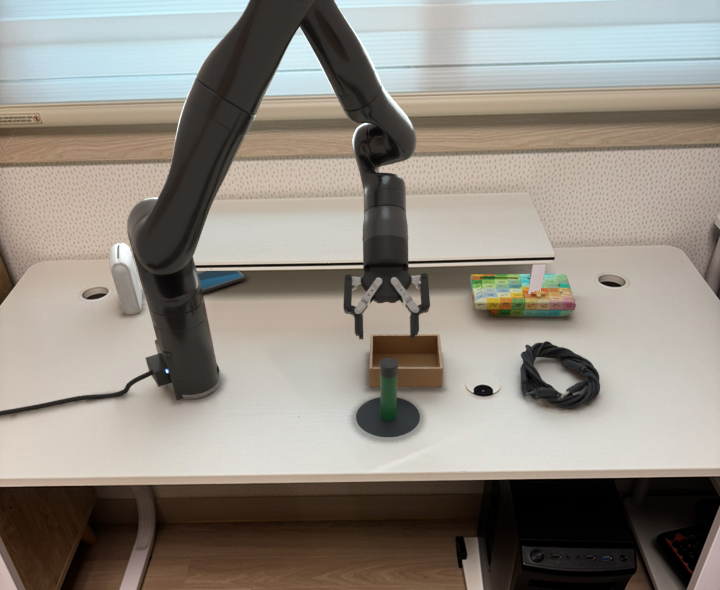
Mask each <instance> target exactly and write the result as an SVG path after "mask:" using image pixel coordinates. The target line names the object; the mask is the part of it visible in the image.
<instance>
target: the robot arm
mask: <svg viewBox="0 0 720 590" xmlns="http://www.w3.org/2000/svg"><path fill="white" fill-rule="evenodd" d="M299 29H300V30H301V33H302V34H303V36H304V37H305V40H306V41H307V43H308V45H309V46H310V48H311V51H312V52H313V54H314V56H315V58H316V60H317V62H318V64H319V65H320V68H321V70H322V72H323V73H324V75H325V77H326V80H327V81H328V83H329V85H330V87H331V89H332V91H333V93H334V95H335V98H336V99H337V101H338V103H339V105H340V107H341V108H342V111H343V112H344V115H345V116H346V118H347V119H348V120H350V121H351V122H352V123H356V124H360V125H359V126H357V127H356V129H355V131H354V133H353V135H352V140H351V147H352V152H353V155H354V159H355V162H356V166H357V169H358V173H359V176H360V181H361V185H362V190H363V223H362V238H361V239H362V267H363V268H362V269H363V270H362V271H363V272H362V274H361V276H352V274H349V273H347V274H345V276H344V286H343V312H344V314H346V315H350V316H352V317H354V318H353V319H354V334H355V336H356V337H358V339H359V340H364V313H365V312H366V310H367V309H368V308H369V307H370V306H371V304H372V303H373V302H374V303H376V304H384V303H389V304H396V303H397V302H400V303H401V304H402V306H403V307H404V308H405V309H406V310H407V311H408V313H410V315H409V334H410V339H414V338H415V335H418V334H419V332H420V315H423V314H424V313H426V314H427V313H428V312H429V310H430V308H431V299H430V298H431V297H430V286H429V274H427V273H426V272H423V273H421V274H419V275H411V273H410V270H409V269H410V267H409V224H408V219H407V190H406V189H407V188H406V183H405V180H404V178H403V177H402V176H400V175H399V174H396V173H391V172H380V168H381V167H386V166H390V165H394V164H397V163H402V162H405V161H407V160H409V159H411V157H413V155H414V153H415V152H416V148H417V134H416V130H415V127H414V125H413V123H412V121H411V119H410V118H409V116H408V115H407V114H406V113H405V112H404V110H403V109H402V108H401V107H400V106H399V105H398V104H397V102H396V101H395V100H394V99H393V98H392V96H391V95H390V94H389V93H388V92H387V90H386V89H385V88H384V85H383V84H382V81H381V79H380V76H379V75H378V72H377V70H376V67H375V65H374V63H373V61H372V58H371V57H370V55H369V53H368V51H367V49H366V48H365V46H364V45H363V42H362V41H361V39H360V37H359V36H358V35H357V33H356V32H355V30H354V29H353V27H352V26H351V24H350V23H349V21H348V20H347V18H346V17H345V15H344V14H343V13H342V11H341V9H340V7H339V6H338V3H337V2H336V0H248V3H247V5H246V7H245V8H244V10H243V12H242V13H241V15H240V17H239V19H237V21H236V23H235V24H234V25H233V26H232V27H231V28H230V29H229V31H228V32H227V33H226V34H225V35H224V36H223V37H222V38H221V40H220V41H219V42H218V43H217V44H216V45H215V46H214V47H213V49H212V50H211V51H210V52H209V53H208V54H207V56H206V57H205V59H204V60H203V62H202V64H201V65H200V67H199V69H198V71H197V73H196V76H195V78H194V80H193V82H192V84H191V87H190V90H189V91H188V94H187V97H186V98H185V101H184V104H183V107H182V110H181V113H180V117H179V120H178V124H177V129H176V134H175V138H174V139H175V140H174V145H173V151H172V157H171V162H170V168H169V170H168V174H167V176H166V179H165V182H164V185H163V186H162V189H161V191H160V192H159V195H158V197H148V198H145V199H142V200H140V201H138V202H137V203H136V204H135V205H134V206H133V207H132V208H131V210H130V212H129V214H128V217H127V221H126V231H127V237H128V240H129V244H130V249H131V253H132V256H133V260H134V264H135V267H136V271H137V275H138V279H139V282H140V286H141V289H142V292H143V294H144V298H145V301H146V305H147V309H148V312H149V315H150V319H151V323H152V326H153V327H152V328H153V330H154V334H155V337H156V339H155V340H154V344H155V348H156V352H157V353H156V354H152V355H150V356H147V357H145V362H146V365H147V368H148V369H147V370H148V371H147V372H144V373H142V374H140V375H138V376H136V377H134V378H132V379H131V380H130V381H128V382H127V383H126V384H125V386H124V388H123V389H121V390H119V391H116V392H111V393H98V394H83V395H76V396H71V397H66V398H61V399H57V400H51V401H47V402H43V403H42V402H41V403H38V404H32V405H26V406H22V407H16V408H10V409H4V410H0V417H3V416H8V415H9V416H10V415H13V414H20V413H26V412H31V411H36V410H40V409H41V410H42V409H45V408H51V407H55V406H60V405H64V404H69V403H75V402H81V401H88V400H103V399H111V398H119V397H121V396H123V395H126V394H127V393H128V392H129V391H130V389H131V388H132V386H133V385H135V384H137V383H138V382H140V381H142V380H145V379H146V378H149V377H152V379H153V380H154V382H155V383H156V385H157V386H158V388H160V387H163V386H167V387H168V389H169V392H170V393H171V394H172V396H173V397H174V398H175V400H176V401H181V400H198V399H203V398H206V397H208V396H210V395H211V394H213V393H214V392H216V391H217V390H218V389H219V388H220V386H221V384H222V383H221V382H222V379H221V371H220V367H219V365H218V362H217V357H216V353H215V347H214V342H213V337H212V331H211V327H210V323H209V317H208V313H207V307H206V303H205V297H204V293H203V292H202V287H201V283H200V280H199V277H198V274H199V272H198V270H197V267H196V264H195V260H194V255H195V252H196V250H197V247H198V244H199V241H200V238H201V235H202V232H203V229H204V227H205V223H206V222H207V218H208V215H209V212H210V210H211V207H212V205H213V203H214V201H215V198H216V196H217V194H218V192H219V190H220V188H221V187H222V184H223V182H224V180H225V179H226V177H227V175H228V172H229V171H230V168H231V167H232V165H233V163H234V160H235V158H236V156H237V154H238V152H239V150H240V149H241V146H242V144H243V143H244V141H245V139H246V137H247V135H248V133H249V131H250V129H251V127H252V124H253V123H254V121H255V119H256V116H257V114H258V112H259V109H260V108H261V105H262V102H263V100H264V98H265V96H266V95H267V92H268V89H269V87H270V86H271V83H272V82H273V80H274V78H275V76H276V73H277V71H278V69H279V67H280V65H281V64H282V60H283V58H284V56H285V55H286V52H287V50H288V48H289V46H290V44H291V42H292V41H293V39H294V37H295V35H296V34H297V32H298V30H299ZM412 284H414V286H415V288H416V289H417V290H420V291H419V294H420V304H417V303H416V301H414V299H413V298H412V296H411V294H410V293H409V292H408V291H407V290H408V289H409V288H410V286H411V285H412ZM359 285H361V287H362V288H363V290H364V291H365V293H364V294H363V296H362V297H361V300H359V302H358V303H357V305H356V306H355V305H353V304H352V301H353V300H352V297H353V291H354V292H355V291H356V290H357V288H358V286H359Z"/></svg>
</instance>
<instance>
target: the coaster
mask: <svg viewBox="0 0 720 590" xmlns="http://www.w3.org/2000/svg"><path fill="white" fill-rule="evenodd" d="M355 420H356V423H357V425H358V426H359V427H360V428H361V429H362V431H364V432H365V433H367V434H370V435H372V436H374V437H380V438H396V437H401V436H404V435H408V434H409V433H410V432H412V431H414V430H415V428H416V427H417V426H418V425H419V423H420V420H421V414H420V411H419V409H418V408H417V407H416V405H414V404H413V403H412V402H410V401H409V400H407V399H404V398H402V397H397V416H396V418H395V419H394V420H392V421H385V420H383V419H381V417H380V396H379V397H375V398H371V399H369V400H367V401H365V402H364V403H363V404H361V405H360V407H359V408H358V410H357V411H356V414H355Z"/></svg>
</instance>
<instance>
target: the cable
mask: <svg viewBox="0 0 720 590" xmlns="http://www.w3.org/2000/svg"><path fill="white" fill-rule="evenodd" d="M524 347H525V350H524V351H522V352H521V353H520V358H521V359H522V365H521V366H520V388H521V393H522V395H523V396H525V397H526V396H531V395H532V396H533V397H534V398H535V399H538V398H539V399H541V400H544V401H546V402H547V403H549V404H551V405H555V406H557V407H559V408H563V409H575V408H577V407H580V406H582V405H585V404H587V403H590V402H592V401H593V400H595V399H596V398H597V396H598V395H599V393H600V391H601V383H600V374H599V371H598V370H597V368H596V367H595V366H594V363H592V362H591V361H590V360H589V359H587V358H585V357H583V356H582V355H580V354H577V353H575V352H574V351H573V350H571V349H569V348H567V347H564V346H558V345H556V344H553V343H552V342H550V341H548V340H546V341H544V342H536V343H534V344H533V345H532V346H531V345H529V344H525V346H524ZM537 358H545V359H546V358H547V359H555V360H559V361H560V362H561V364H562V365H563V366H564V367H565V368H568V369H571V370H573V371H576V372H579V373H580V374H581V376H583V377H586V378H587V379H586V380H583V381H578V382H576V383H575V384H573V385H571V386H569V387H568V388H566V389H565V392H563V393H562V392H559V391H558V390H557V389H556V388H555V387H554V388H553V387H552V386H551V385H549V384H548V383H547V382H546V381H545V380H543V378H542V376H541V375H540V372H539V370H538V369H537V368H536V367H535V361H536V359H537ZM584 389H585V390H584ZM582 390H584V391H583V392H581V391H582ZM578 392H581V393H578Z"/></svg>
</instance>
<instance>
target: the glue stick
mask: <svg viewBox="0 0 720 590" xmlns="http://www.w3.org/2000/svg"><path fill="white" fill-rule="evenodd" d="M397 374H398V362H397V361H396V360H395V359H393V358H385V359H383V360H381V362H380V387H379V392H380V393H379V397H380V417H381V419H383V420H385V421H392V420H394V419H395V418H396V416H397V398H398V387H397Z"/></svg>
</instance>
